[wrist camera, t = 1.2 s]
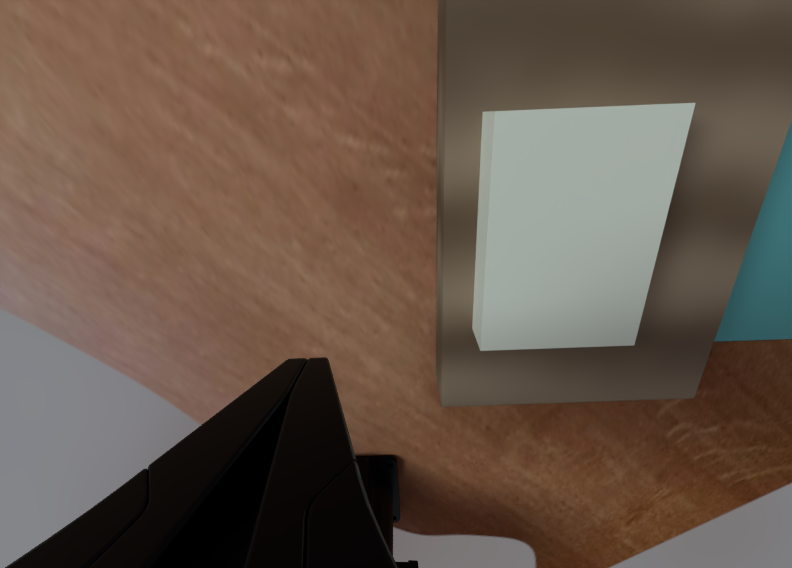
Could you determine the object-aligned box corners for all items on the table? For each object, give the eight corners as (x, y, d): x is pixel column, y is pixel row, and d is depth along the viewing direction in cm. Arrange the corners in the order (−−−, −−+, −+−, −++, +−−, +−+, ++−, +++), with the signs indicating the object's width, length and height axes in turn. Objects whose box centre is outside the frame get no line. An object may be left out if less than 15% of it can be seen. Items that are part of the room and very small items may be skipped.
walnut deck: (659, 365, 24) (694, 398, 21) (436, 373, 24) (441, 406, 21) (776, -34, 16) (856, -65, 13) (437, -18, 16) (447, -45, 13)
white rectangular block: (611, 323, 19) (634, 345, 17) (472, 328, 19) (480, 350, 18) (659, 104, 15) (695, 102, 13) (482, 111, 15) (494, 111, 13)
